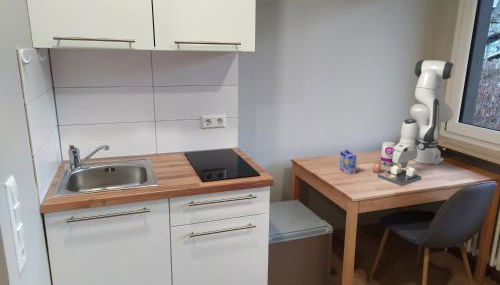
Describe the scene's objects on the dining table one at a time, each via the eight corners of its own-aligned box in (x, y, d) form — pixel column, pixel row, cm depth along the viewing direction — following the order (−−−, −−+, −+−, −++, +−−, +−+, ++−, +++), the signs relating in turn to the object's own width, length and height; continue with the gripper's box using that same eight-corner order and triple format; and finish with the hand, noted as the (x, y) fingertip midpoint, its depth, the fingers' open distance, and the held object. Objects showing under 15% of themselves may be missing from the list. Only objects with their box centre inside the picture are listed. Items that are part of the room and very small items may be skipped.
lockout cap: (375, 170, 230) (377, 160, 228) (382, 172, 227) (383, 162, 225) (371, 171, 228) (372, 161, 226) (377, 173, 224) (378, 163, 222)
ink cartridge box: (338, 169, 230) (340, 147, 226) (345, 168, 232) (348, 147, 228) (347, 175, 221) (349, 152, 217) (355, 174, 223) (357, 151, 219)
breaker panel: (397, 171, 229) (397, 166, 228) (421, 179, 217) (421, 174, 216) (377, 177, 219) (378, 172, 218) (401, 185, 206) (401, 180, 205)
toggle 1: (394, 171, 222) (395, 164, 221) (400, 173, 219) (401, 166, 218) (390, 172, 220) (391, 165, 219) (396, 174, 217) (397, 167, 216)
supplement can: (394, 167, 237) (397, 145, 233) (380, 166, 239) (383, 144, 235) (391, 163, 245) (394, 141, 241) (379, 162, 246) (381, 140, 242)
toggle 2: (409, 173, 219) (410, 166, 218) (416, 175, 216) (417, 168, 215) (405, 174, 217) (407, 167, 216) (412, 176, 214) (413, 169, 213)
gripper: (412, 142, 228) (409, 163, 232) (391, 147, 217) (389, 169, 221) (421, 145, 223) (418, 166, 227) (401, 150, 212) (398, 172, 216)
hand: (403, 167), depth 224 cm, fingers closed
